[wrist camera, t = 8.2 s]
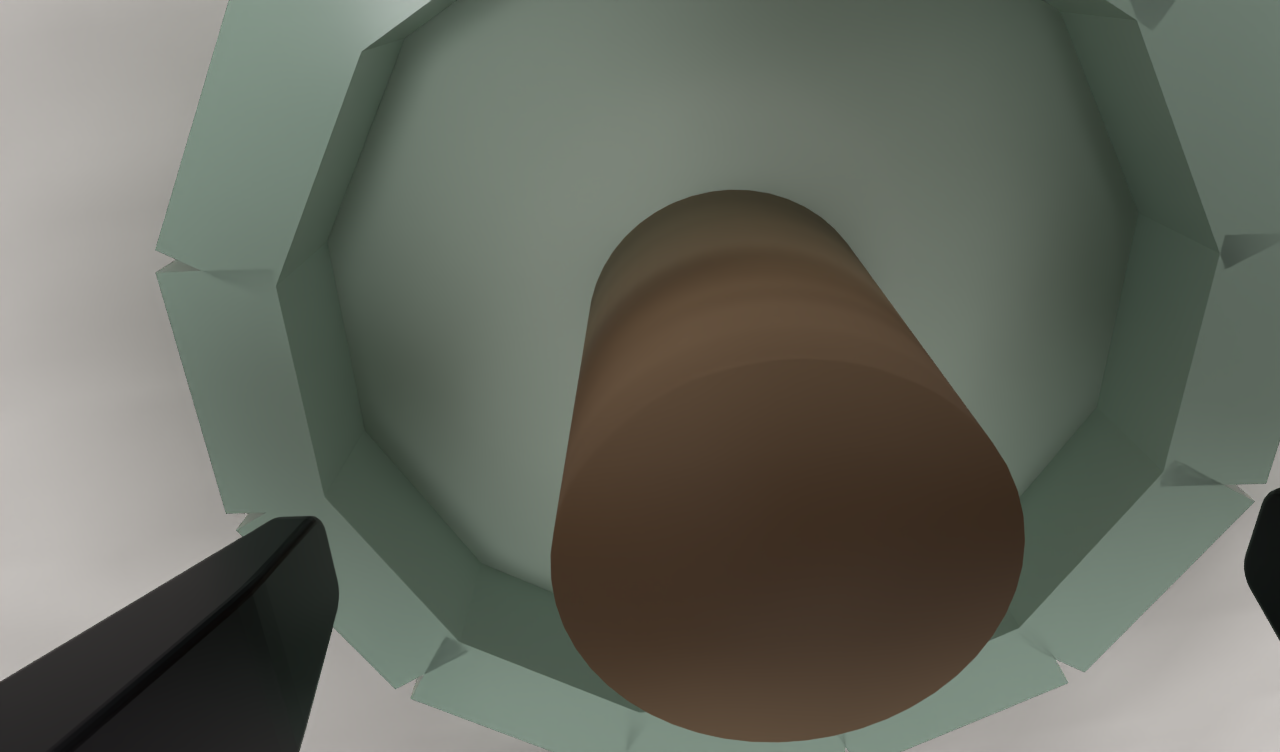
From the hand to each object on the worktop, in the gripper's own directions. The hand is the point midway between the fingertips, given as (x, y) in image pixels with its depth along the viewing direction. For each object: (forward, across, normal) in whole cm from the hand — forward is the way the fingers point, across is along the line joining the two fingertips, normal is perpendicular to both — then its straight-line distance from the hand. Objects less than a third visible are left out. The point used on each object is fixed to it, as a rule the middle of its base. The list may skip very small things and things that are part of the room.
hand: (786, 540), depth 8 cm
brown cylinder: (+6, 0, 0) cm, 6 cm away
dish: (+6, 0, 0) cm, 7 cm away
